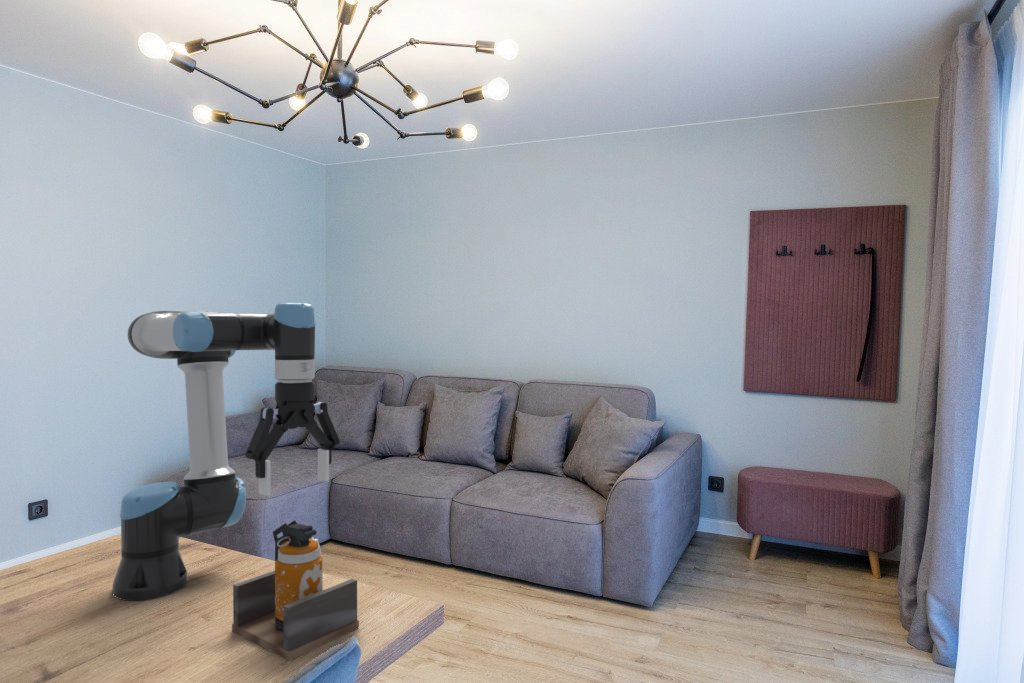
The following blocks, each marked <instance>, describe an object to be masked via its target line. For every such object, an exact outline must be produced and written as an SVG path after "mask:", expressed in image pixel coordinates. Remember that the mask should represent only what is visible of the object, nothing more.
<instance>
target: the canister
mask: <svg viewBox="0 0 1024 683" xmlns="http://www.w3.org/2000/svg"><path fill="white" fill-rule="evenodd" d="M313 528H314V527H313V525H305V524H302V523H298V522H297V521H296V520H293V521H291V522H289V524H287V523H286V522H284V523H283V524H282V525H281V526H279V527H278V528H276V529H274V530H273V531H272V535H273V540H274V547H275V548H274V558H275V559H274V571H275V592H274V596H275V625H276V626H277V627H278V628H280V629H283V630H284V606H285V605H287V604H290V603H292V602H295V601H297V600H300V599H302V598H305V597H307V596H310V595H312V594H315V593H317V592H320V591H322V590H324V589H323V586H324V585H323V581H324V580H323V578H324V577H323V575H324V574H323V556H322V554H321V555H320V548H321V546H320V547H319V545H320V544H319V545H318V542H319V541H318V542H317V541H315V540H312V539H310V538H313V536H316V535H317V533H318V532H317V530H316V529H313ZM281 533H282V536H280V537H278V535H280V534H281Z"/></svg>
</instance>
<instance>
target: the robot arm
mask: <svg viewBox="0 0 1024 683" xmlns="http://www.w3.org/2000/svg"><path fill="white" fill-rule="evenodd" d="M316 325H317V324H316V320H315V308H314V306H313V305H312V304H310V303H305V302H304V303H302V302H301V303H300V302H280V303H279V302H278V303H277V304H276V305H275V308H274V313H269V312H268V313H254V312H253V313H250V312H249V313H245V312H244V313H243V312H240V313H239V312H238V313H237V312H232V313H231V312H215V311H208V310H206V311H196V310H195V311H194V310H193V311H191V310H190V311H189V310H187V311H185V310H184V311H183V310H181V311H179V310H175V311H173V310H158V311H150V312H147V313H144V314H141V315H139V316H137V317H136V318H134V319H133V320H132V321H131V323H130V325H129V326H128V328H127V340H128V343H129V344H130V346H131V347H132V349H133V350H134V351H136V352H137V353H139V354H141V355H142V356H146V357H149V358H154V359H162V360H164V359H165V360H166V359H169V360H172V359H173V360H175V359H176V360H177V362H176V364H177V368H179V369H180V370H181V371H182V372H183V373H184V382H185V385H184V386H185V398H186V400H185V402H186V418H187V419H186V420H187V435H188V436H187V437H188V439H187V440H188V452H189V453H188V456H189V471H188V473H186V475H185V476H184V477H183V486H179V483H177V482H175V481H163V482H154V483H149V484H145V485H143V486H139V487H137V488H133V489H132V490H130V491H128V492H127V493H126V494H125V495H124V496H122V499H121V503H120V504H121V506H120V513H119V518H120V532H121V533H120V543H121V544H120V546H121V551H120V552H121V556H120V557H121V558H120V562H119V564H118V568H117V571H116V573H115V576H114V579H113V582H112V595H113V594H114V596H116V597H118V598H121V599H120V600H122V599H125V600H124V601H143V600H144V601H145V600H150V599H155V598H160V597H164V596H166V595H170V594H172V593H175V592H177V591H179V590H181V589H182V588H183V587H186V585H187V583H188V570H187V568H186V565H185V563H184V560H183V558H182V555H181V553H180V547H179V545H180V544H179V543H180V542H179V540H180V539H179V538H181V537H186V536H191V535H195V534H199V533H204V532H208V531H212V530H222V529H223V528H226V527H230V526H233V525H235V524H237V523H238V522H239V521H240V520H241V519H242V517H243V515H244V512H245V509H246V503H247V489H246V487H245V482H244V481H243V479H242V478H240V477H237V476H236V470H234V469H233V468H232V467H230V466H229V458H228V457H229V456H228V453H229V452H228V443H227V442H228V441H227V424H226V423H227V422H226V421H227V420H226V405H225V390H224V389H225V387H224V375H223V371H224V369H225V368H226V367H227V366H228V365H229V361H230V360H229V359H230V358H232V357H233V356H234V355H235V353H236V351H267V350H268V351H271V350H272V351H274V379H275V380H277V382H276V383H275V384H274V400H275V403H276V405H275V408H271V407H270V408H269V407H262V408H261V409H260V415H259V416H260V418H259V421H258V424H257V426H256V428H255V430H254V433H253V435H252V437H251V440H250V443H248V444H249V445H248V447H247V449H246V451H245V454H244V457H245V458H247V459H250V460H254V462H255V467H254V468H255V469H254V470H255V473H254V475H255V478H257V479H258V494H259V495H263V496H271V494H272V492H271V491H272V487H271V484H272V482H271V481H272V480H271V479H272V478H271V476H272V475H271V472H272V470H271V467H272V466H271V465H272V464H271V460H268V458H269V457H270V455H271V453H272V452H273V450H274V449H275V447H276V446H277V444H278V442H279V441H280V440H281V439H282V437H283V436H284V434H285V433H287V431H288V430H293V429H297V428H305V429H306V430H307V431H308V433H309V434H310V435H311V436H312V437H313V438H314V440H315V441H316V442H317V443H318V445H319V446H320V448H318V449H317V481H320V482H325V483H327V482H328V483H329V482H330V465H331V464H332V450H335V448H336V445H337V446H338V445H339V444H340V443H341V440H340V438H339V436H338V434H337V433H338V432H336V429H335V428H336V427H335V426H334V424H333V421H332V420H331V417H330V415H329V413H328V404H327V403H326V402H323V401H316V402H315V403H314V400H315V397H316V383H315V381H313V380H314V379H315V376H316V375H315V374H316V372H315V368H316V367H315V365H316V364H315V362H316V361H315V360H316V359H315V355H316V354H315V353H316V351H315V350H316ZM314 413H315V415H316V418H317V420H318V422H317V421H316V419H315V418H314V417H313V414H314ZM275 418H277V419H276V420H275V422H274V423H273V421H274V419H275ZM318 423H319V425H320V426H319V425H318ZM272 424H273V425H272ZM271 427H272V428H271ZM320 427H321V428H320ZM270 429H271V430H270ZM114 596H113V597H114ZM116 597H115V598H116ZM118 598H117V599H118Z"/></svg>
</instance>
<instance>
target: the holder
mask: <svg viewBox="0 0 1024 683" xmlns="http://www.w3.org/2000/svg"><path fill="white" fill-rule="evenodd" d="M232 590H233V591H232V592H233V593H232V599H233V600H232V601H233V603H232V604H233V606H232V607H233V608H232V609H233V610H232V611H233V612H232V613H233V614H232V615H233V617H232V618H233V619H232V620H233V623H232V624H231V632H232V633H234V634H236V635H238V636H240V637H242V638H244V639H247V641H250V642H252V643H254V644H256V645H258V646H260V647H262V648H264V649H265V650H268V651H270V652H272V653H275V654H276V655H278V656H281V657H282V658H284V659H286V660H289V661H292V660H295V659H296V658H298V657H301V656H304V654H308V653H310V652H311V651H313V650H316V649H317V648H320V647H322V646H324V645H326V644H328V643H330V642H332V641H334V640H336V639H338V638H341V637H343V636H344V635H347V634H349V633H351V632H353V631H355V630H357V629H359V628H360V620H359V619H358V580H357V579H354V578H351V579H348V580H346V581H343V582H341V583H338V584H335V585H333V586H330V587H328V588H325V589H323V590H322V591H320V592H317V593H315V594H312V595H310V596H307V597H305V598H302V599H300V600H297V601H295V602H292V603H290V604H287V605H285V606H284V630H283V629H280V628H278V627H277V626H276V625H275V596H274V592H275V570H273V571H270V572H266V573H264V574H260V575H258V576H255V577H252V578H249V579H246V580H243V581H240V582H238V583H237V582H236V583H234V584H233V585H232ZM358 627H359V628H358ZM356 628H357V629H356ZM354 629H355V630H354ZM352 630H353V631H352Z"/></svg>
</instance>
